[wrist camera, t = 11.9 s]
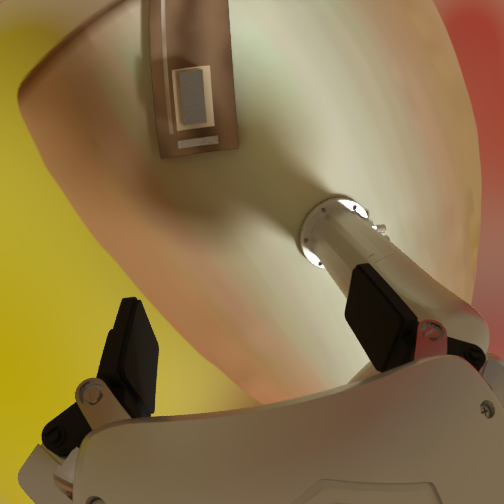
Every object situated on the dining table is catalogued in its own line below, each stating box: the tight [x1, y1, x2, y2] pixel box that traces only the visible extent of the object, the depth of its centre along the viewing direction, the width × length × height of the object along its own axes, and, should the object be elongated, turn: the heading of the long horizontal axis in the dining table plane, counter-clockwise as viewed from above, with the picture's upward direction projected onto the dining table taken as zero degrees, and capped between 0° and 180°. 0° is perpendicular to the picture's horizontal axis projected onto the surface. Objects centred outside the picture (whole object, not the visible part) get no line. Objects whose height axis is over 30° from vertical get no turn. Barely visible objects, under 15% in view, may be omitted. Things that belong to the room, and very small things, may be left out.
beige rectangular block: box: [172, 65, 215, 131], centre depth 26 cm, size 4×7×6 cm, turn 4°
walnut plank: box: [149, 0, 239, 159], centre depth 25 cm, size 10×30×3 cm, turn 4°
